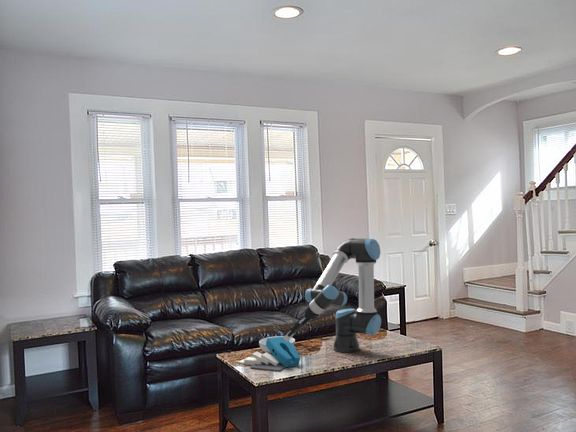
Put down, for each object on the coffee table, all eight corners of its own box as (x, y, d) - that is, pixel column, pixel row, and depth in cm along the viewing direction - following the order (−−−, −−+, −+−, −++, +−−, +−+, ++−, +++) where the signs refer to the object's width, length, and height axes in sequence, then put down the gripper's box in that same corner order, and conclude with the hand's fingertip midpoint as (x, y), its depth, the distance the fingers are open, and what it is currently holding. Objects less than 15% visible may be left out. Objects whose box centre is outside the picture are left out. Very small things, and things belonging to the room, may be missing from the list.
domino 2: (264, 358, 276) (248, 356, 280) (260, 361, 272) (244, 359, 276) (264, 361, 276) (248, 359, 280) (260, 364, 272) (244, 362, 276)
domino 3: (272, 359, 275) (256, 351, 279) (268, 362, 270) (252, 353, 274) (271, 362, 275) (255, 353, 279) (267, 364, 270) (251, 356, 274)
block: (301, 365, 272) (284, 344, 288) (303, 357, 271) (286, 336, 287) (281, 367, 266) (265, 346, 282) (283, 359, 265) (267, 338, 281)
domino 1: (259, 361, 278) (243, 359, 282) (254, 363, 273) (238, 361, 278) (259, 364, 278) (243, 362, 282) (254, 366, 273) (238, 364, 278)
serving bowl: (275, 345, 312) (274, 334, 312) (302, 350, 299) (302, 339, 299) (251, 353, 296) (251, 341, 296) (279, 359, 283) (279, 347, 283)
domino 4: (281, 360, 272) (266, 352, 277) (276, 363, 268) (261, 354, 273) (280, 363, 273) (265, 354, 277) (276, 366, 268) (260, 357, 273)
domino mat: (292, 362, 276) (292, 361, 276) (279, 371, 261) (279, 370, 261) (263, 359, 283) (263, 358, 283) (250, 368, 268) (250, 366, 268)
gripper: (314, 317, 255) (285, 348, 262) (323, 312, 267) (295, 341, 273) (304, 306, 257) (275, 337, 264) (313, 301, 269) (285, 331, 276)
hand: (285, 339), depth 268 cm, fingers closed
